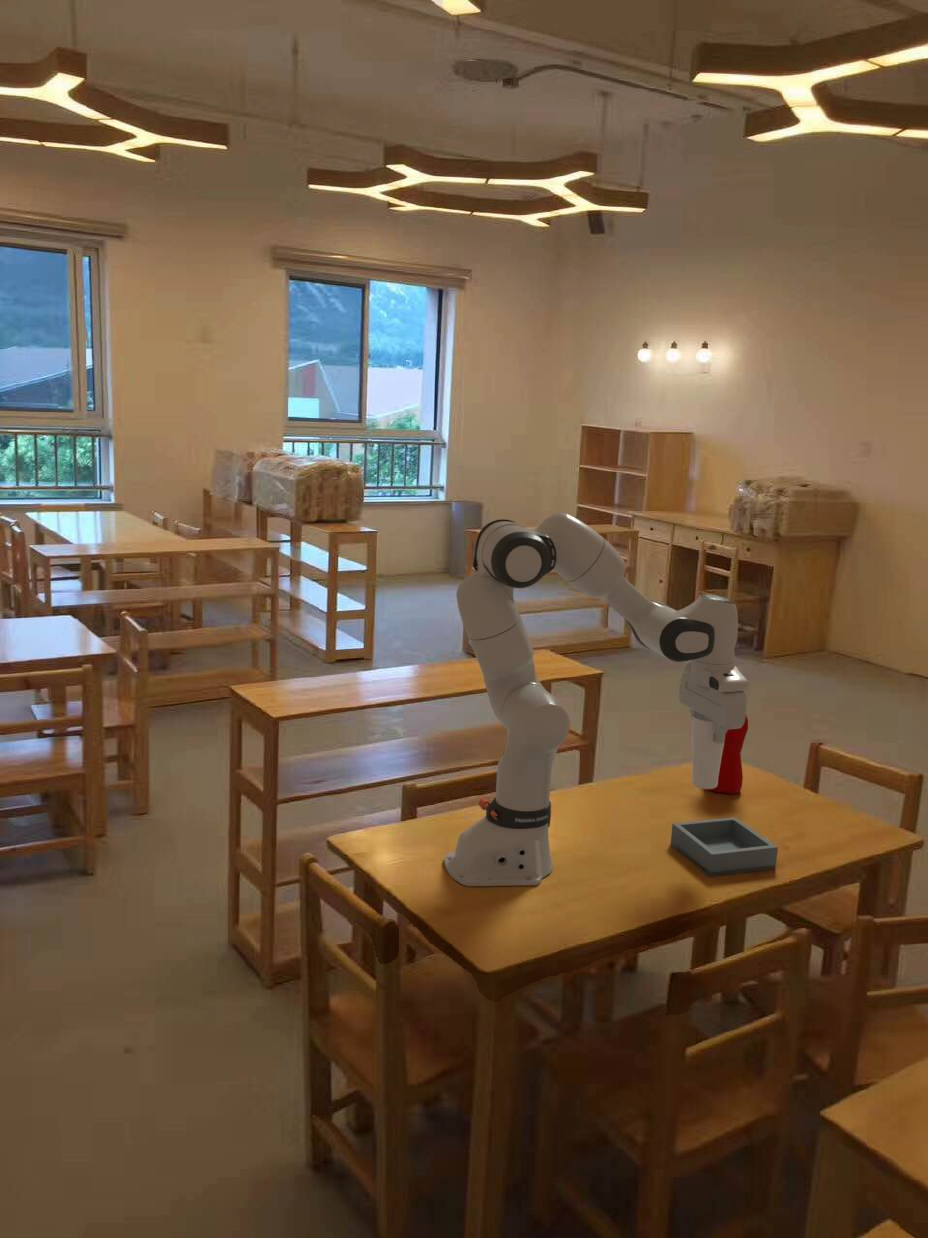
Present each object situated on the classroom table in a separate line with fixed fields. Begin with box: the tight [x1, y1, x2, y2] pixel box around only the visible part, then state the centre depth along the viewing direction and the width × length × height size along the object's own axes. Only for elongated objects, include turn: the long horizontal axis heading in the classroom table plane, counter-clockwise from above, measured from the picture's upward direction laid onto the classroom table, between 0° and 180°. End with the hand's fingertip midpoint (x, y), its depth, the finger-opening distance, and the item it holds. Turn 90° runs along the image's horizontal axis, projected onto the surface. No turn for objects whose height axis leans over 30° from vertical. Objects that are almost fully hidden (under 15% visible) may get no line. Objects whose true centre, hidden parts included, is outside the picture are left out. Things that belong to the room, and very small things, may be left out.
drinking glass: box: [691, 714, 725, 790], centre depth 212 cm, size 7×7×15 cm
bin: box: [670, 816, 779, 878], centre depth 217 cm, size 16×16×5 cm
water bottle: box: [707, 714, 749, 795], centre depth 256 cm, size 9×11×25 cm
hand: (707, 736), depth 211 cm, fingers closed on drinking glass, 6 cm apart
